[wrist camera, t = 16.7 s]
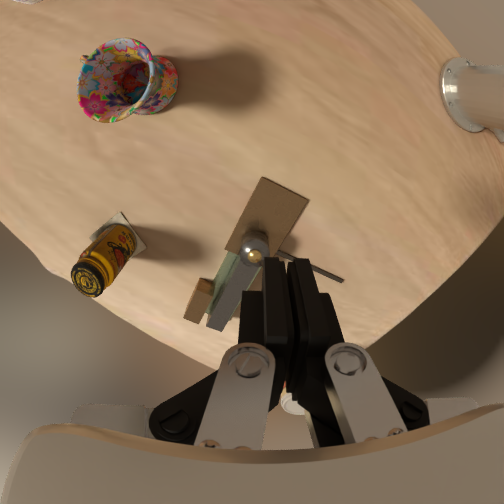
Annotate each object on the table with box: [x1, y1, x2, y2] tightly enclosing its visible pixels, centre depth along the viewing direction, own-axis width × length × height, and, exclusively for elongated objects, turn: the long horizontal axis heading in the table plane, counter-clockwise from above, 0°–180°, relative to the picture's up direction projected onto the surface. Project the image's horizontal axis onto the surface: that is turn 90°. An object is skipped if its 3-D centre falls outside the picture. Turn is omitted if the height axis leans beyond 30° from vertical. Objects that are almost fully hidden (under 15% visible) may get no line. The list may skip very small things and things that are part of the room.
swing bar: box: [206, 231, 270, 332], centre depth 40 cm, size 18×4×4 cm, turn 155°
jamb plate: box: [225, 177, 343, 283], centre depth 39 cm, size 20×12×1 cm, turn 64°
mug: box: [77, 38, 178, 123], centre depth 24 cm, size 12×9×11 cm
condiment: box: [71, 212, 147, 297], centre depth 35 cm, size 7×8×12 cm
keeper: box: [183, 251, 262, 324], centre depth 42 cm, size 8×14×3 cm, turn 154°
